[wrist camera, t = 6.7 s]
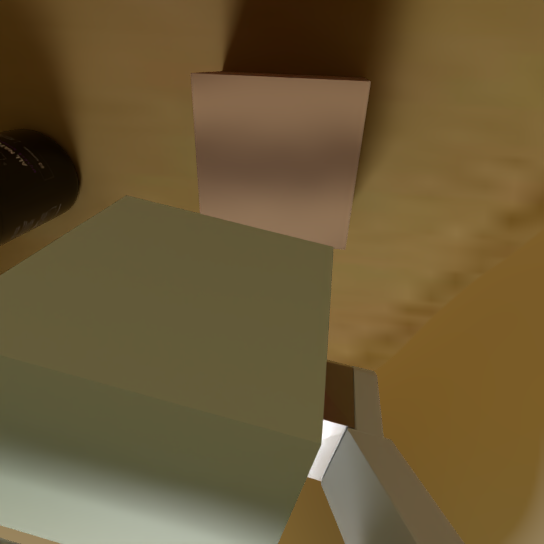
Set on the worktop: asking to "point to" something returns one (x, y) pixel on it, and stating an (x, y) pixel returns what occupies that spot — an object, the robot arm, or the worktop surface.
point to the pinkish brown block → (279, 150)
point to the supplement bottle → (33, 182)
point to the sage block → (161, 379)
